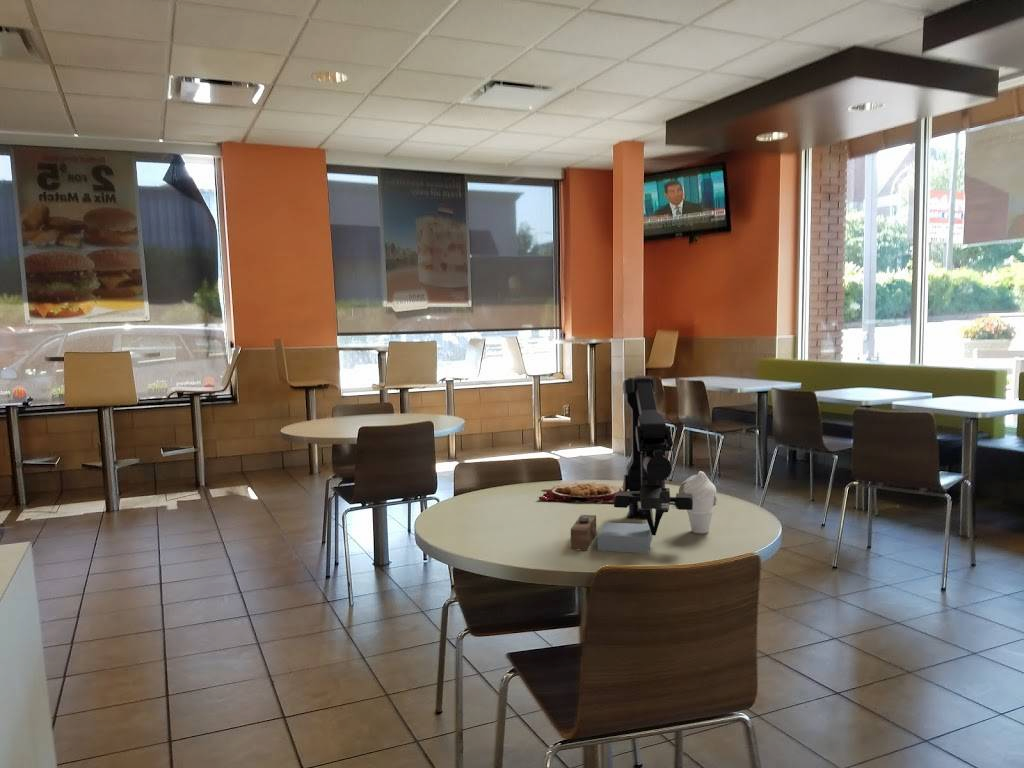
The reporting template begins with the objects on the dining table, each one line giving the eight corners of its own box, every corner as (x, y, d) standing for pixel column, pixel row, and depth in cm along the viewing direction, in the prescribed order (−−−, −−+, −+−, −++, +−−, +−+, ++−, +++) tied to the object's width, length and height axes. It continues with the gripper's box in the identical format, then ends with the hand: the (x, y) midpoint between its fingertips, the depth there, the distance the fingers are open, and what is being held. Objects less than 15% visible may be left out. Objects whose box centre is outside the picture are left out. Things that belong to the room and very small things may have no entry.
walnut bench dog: (581, 533, 190) (580, 510, 190) (596, 534, 189) (596, 510, 189) (571, 549, 177) (570, 524, 176) (587, 550, 176) (586, 525, 175)
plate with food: (620, 507, 220) (620, 495, 220) (538, 501, 227) (538, 490, 227) (629, 490, 243) (630, 480, 243) (555, 486, 250) (555, 476, 250)
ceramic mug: (677, 503, 219) (677, 478, 218) (686, 497, 226) (686, 473, 225) (712, 507, 213) (712, 482, 213) (720, 501, 220) (720, 476, 220)
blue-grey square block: (605, 537, 187) (604, 522, 187) (652, 539, 184) (652, 524, 184) (597, 551, 176) (597, 535, 175) (648, 554, 172) (647, 537, 172)
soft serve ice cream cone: (677, 529, 191) (676, 469, 190) (704, 525, 194) (703, 466, 193) (696, 537, 183) (695, 475, 182) (723, 533, 186) (723, 471, 185)
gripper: (610, 478, 172) (611, 542, 173) (691, 479, 167) (692, 546, 168) (616, 469, 182) (617, 530, 183) (692, 470, 177) (693, 533, 178)
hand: (654, 535), depth 178 cm, fingers closed
